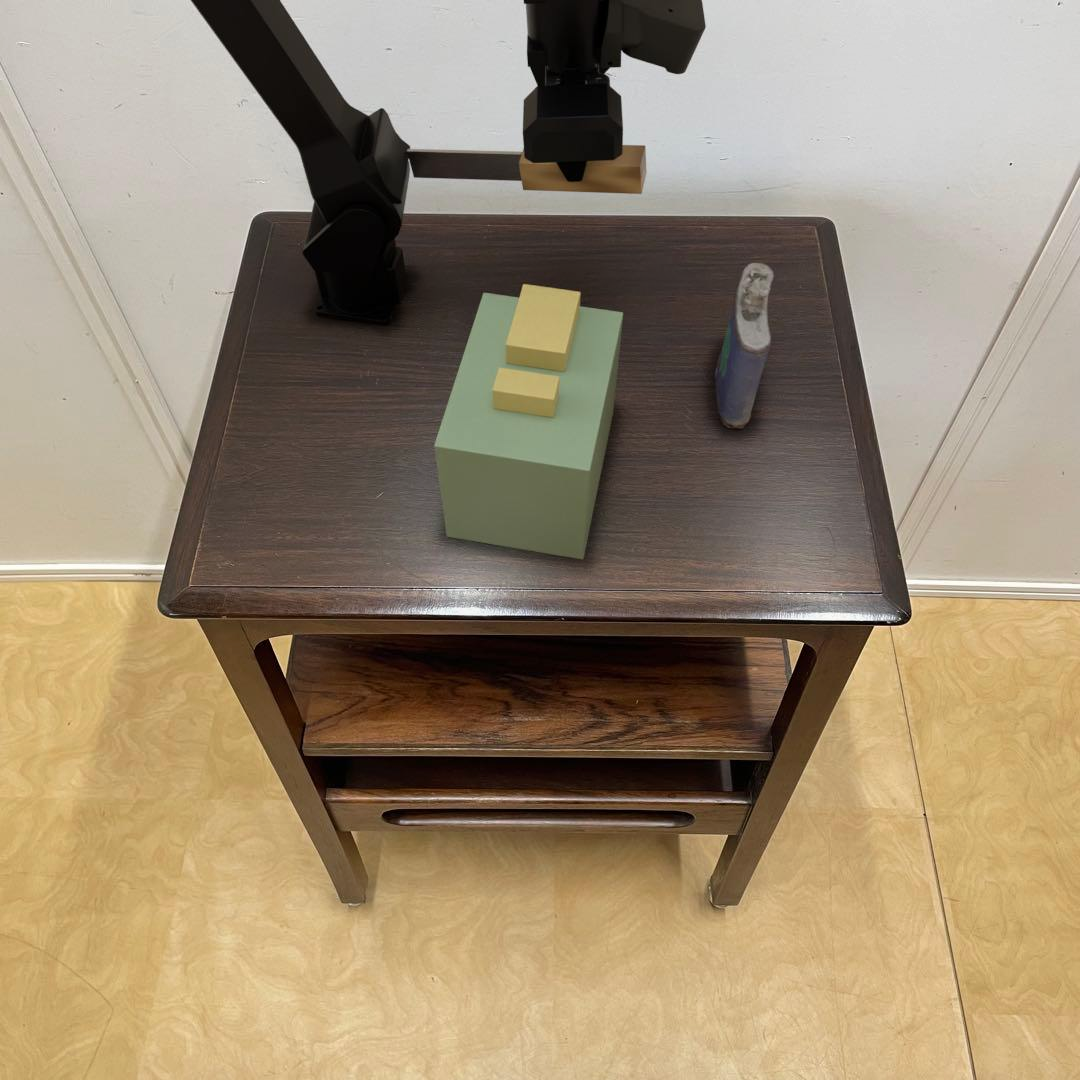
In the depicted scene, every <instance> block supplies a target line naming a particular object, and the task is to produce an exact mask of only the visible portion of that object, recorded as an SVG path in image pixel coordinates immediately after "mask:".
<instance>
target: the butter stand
mask: <svg viewBox="0 0 1080 1080" xmlns="http://www.w3.org/2000/svg"><path fill="white" fill-rule="evenodd" d="M518 300H519V297H517V296H511V295H504V294H498V293H497V294H496V293H489V292H483V293H482V295H481V299H480V302H479V305H478V308H477V311H476V315H475V318H474V321H473V324H472V327H471V330H470V333H469V336H468V340H467V343H466V345H465V349H464V352H463V355H462V358H461V361H460V364H459V367H458V371H457V374H456V377H455V380H454V383H453V385H452V389H451V392H450V395H449V398H448V402H447V404H446V408H445V411H444V414H443V417H442V420H441V423H440V426H439V430H438V432H437V436H436V439H435V442H434V445H433V447H434V448H433V449H434V454H435V455H434V456H435V462H436V469H437V470H436V471H437V477H438V484H439V490H440V491H439V492H440V498H441V505H442V512H443V519H444V527H445V534H446V537H448V538H451V539H459V540H465V541H469V542H476V543H481V544H482V543H483V544H489V545H494V546H500V547H506V548H511V549H518V550H523V551H530V552H535V553H541V554H547V555H554V556H560V557H565V558H571V559H577V560H584V559H585V553H586V548H587V543H588V538H589V535H590V529H591V524H592V518H593V514H594V509H595V504H596V499H597V494H598V490H599V485H600V479H601V476H602V475H601V474H602V470H603V465H604V460H605V455H606V450H607V445H608V441H609V436H610V431H611V426H612V420H613V416H614V409H615V400H616V391H617V381H618V380H617V379H618V371H619V370H618V369H619V362H620V361H619V360H620V353H621V352H620V349H621V342H622V341H621V340H622V331H623V320H624V312H623V311H615V310H609V309H601V308H596V307H595V308H594V307H587V306H581V305H580V312H579V316H578V320H577V324H576V328H575V332H574V336H573V340H572V345H571V349H570V353H569V357H568V361H567V365H566V369H565V372H562V371H555V370H548V369H542V368H535V367H528V366H522V365H515V364H508V363H506V341H507V338H508V334H509V331H510V328H511V324H512V321H513V317H514V314H515V311H516V307H517V304H518ZM498 368H506V369H512V370H519V371H526V372H532V373H539V374H546V375H552V376H559V377H560V384H559V398H558V402H557V406H556V410H555V414H554V417H553V418H552V417H545V416H539V415H532V414H526V413H520V412H513V411H507V410H500V409H494V408H493V397H492V389H493V385H494V382H495V379H496V375H497V372H498Z"/></svg>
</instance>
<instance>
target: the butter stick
mask: <svg viewBox="0 0 1080 1080" xmlns="http://www.w3.org/2000/svg"><path fill="white" fill-rule="evenodd" d="M520 290H521V291H520V293H519V297H518V298H519V300H518V304H517V307H516V311H515V314H514V317H513V321H512V324H511V328H510V331H509V334H508V338H507V341H506V363H508V364H515V365H522V366H528V367H535V368H542V369H548V370H555V371H562V372H565V369H566V365H567V361H568V357H569V353H570V349H571V345H572V340H573V336H574V332H575V328H576V324H577V320H578V316H579V312H580V306H581V295H582V293H581V291H577V290H570V289H562V288H556V287H549V286H548V287H547V286H541V285H535V284H528V283H523V284H522V287H521V289H520Z"/></svg>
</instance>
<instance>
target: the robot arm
mask: <svg viewBox="0 0 1080 1080" xmlns="http://www.w3.org/2000/svg"><path fill="white" fill-rule="evenodd" d="M190 2H191V3H192V5H193V6H194V7H195V8H196V10H197V11H198V13H199V14H200V16H201V17H202V18H203V20H204V21H205V22H206V24H207V25H208V26H209V28H210V29H211V32H213V34H214V35H215V36H216V37H217V39H218V41H219V42H220V43H221V45H222V46H223V47H224V48H225V50H226V51H227V53H228V54H229V55H230V57H231V58H232V60H233V61H234V63H235V64H236V65H237V67H238V68H239V70H240V71H241V72H242V74H243V75H244V76H245V78H246V79H247V80H248V82H249V83H250V85H251V86H252V87H253V89H254V90H255V91H256V93H257V94H258V96H259V97H260V98H261V99H262V101H263V102H264V104H265V105H266V107H267V108H268V109H269V111H270V112H271V113H272V115H273V116H274V118H275V119H276V120H277V121H278V123H279V125H280V126H281V127H282V129H283V130H284V131H285V133H286V135H288V137H289V138H290V140H291V141H292V143H293V144H294V145H295V147H296V149H297V151H298V153H299V155H300V159H301V162H302V166H303V170H304V175H305V177H306V181H307V185H308V187H309V191H310V195H311V197H312V200H313V206H312V210H311V213H310V218H309V223H308V225H307V226H308V227H307V231H306V235H305V240H304V244H303V248H302V253H301V254H302V256H303V258H304V259H305V260H306V261H307V263H308V264H309V265H310V268H312V270H313V271H314V274H315V279H316V282H317V286H318V291H319V296H318V299H317V301H316V303H315V305H314V312H315V315H317V316H321V317H326V318H333V319H341V320H346V321H355V322H360V323H367V324H368V323H369V324H375V325H381V326H386V325H389V324H390V323H391V320H392V319H393V316H394V314H395V313H394V312H395V311H396V307H397V306H399V305H400V304H401V301H402V299H403V298H404V295H405V291H406V289H407V286H408V276H409V274H408V269H407V268H406V265H405V264H406V263H405V257H404V251H403V248H402V247H401V246H399V245H397V242H396V238H397V237H398V235H399V234H400V231H401V229H402V225H403V218H404V214H405V213H404V212H405V207H406V206H405V205H406V200H407V193H408V187H409V180H410V175H411V173H410V172H411V165H410V161H409V155H408V154H407V149H411V145H410V144H408V143H407V142H406V141H405V140H403V139H402V138H401V136H400V135H399V134H398V132H396V129H395V127H394V126H393V123H392V121H391V117H390V115H389V114H388V112H387V111H386V109H384V108H383V107H380V108H379V109H377V110H376V111H374V112H372V113H371V114H370V115H368V114H366V113H364V112H363V111H361V110H359V109H357V108H356V107H353V106H352V105H351V104H349V102H347V100H346V99H345V98H344V96H343V95H342V93H341V92H340V89H338V87H337V86H336V84H335V82H334V81H333V79H332V78H331V76H330V75H329V73H328V71H327V70H326V68H325V67H324V65H323V64H322V63H321V61H320V60H319V57H318V56H317V54H316V53H315V52H314V50H313V49H312V47H311V46H310V44H309V43H308V41H307V39H306V38H305V36H304V35H303V33H302V32H301V30H300V29H299V27H298V25H297V24H296V23H295V21H294V20H293V18H292V16H291V15H290V13H289V11H287V9H286V7H285V5H284V4H283V3H282V1H281V0H190ZM523 5H525V12H526V13H525V14H526V28H527V29H526V30H527V35H526V59H527V60H526V61H527V67H528V68H529V69H530V71H531V74H532V76H533V78H534V81H535V83H536V85H537V86H535V88H533V90H532V91H531V92H529V94H528V95H527V96H526V97H525V98H524V99H523V105H522V107H523V108H522V109H523V110H522V111H523V113H522V141H523V143H522V144H523V149H524V157H525V158H526V159H527V160H529V161H531V162H532V163H551V162H556V163H557V165H558V167H559V168H560V170H561V172H562V173H563V175H564V177H565V178H566V180H567V181H568V182H580V181H582V179H583V175H584V172H585V168H586V164H587V161H606V160H615V159H616V158H618V157H619V156H621V155H622V152H623V145H624V121H623V120H624V119H623V104H622V95H621V94H620V93H618V91H616V90H615V89H614V88H613V87H611V79H610V77H609V76H608V75H607V74H606V73H607V72H608V70H609V69H611V68H613V69H614V68H622V53H623V54H624V55H625V56H627V57H629V58H632V59H635V60H638V61H641V62H644V63H648V64H650V65H654V66H657V67H661V68H664V69H665V71H666V72H667V73H670V74H672V75H682V74H684V73H686V71H687V69H688V67H689V64H690V63H691V60H692V58H693V56H694V54H695V52H696V50H697V47H698V46H699V43H700V41H701V38H702V36H703V34H704V33H705V30H706V27H707V26H706V19H705V11H704V4H703V0H523Z"/></svg>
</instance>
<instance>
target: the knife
mask: <svg viewBox="0 0 1080 1080" xmlns="http://www.w3.org/2000/svg"><path fill="white" fill-rule="evenodd" d="M407 154H408V155H409V159H408V161H409V165H410V170H411V171H412V175H413V178H414V179H415V178H416V179H444V180H445V179H447V180H479V181H508V182H509V181H510V182H512V181H513V182H521V186H522V190H523V191H537V192H539V191H540V192H567V193H568V192H570V193H599V194H600V193H601V194H604V193H605V194H625V195H626V194H627V195H629V194H630V195H642V194H643V189H644V185H645V182H646V177H647V151H646V145H642V144H641V145H640V144H638V145H637V144H632V145H631V144H623V152H622V155H621V156H619V157H618V158H616V159H615V160H606V161H587V164H586V168H585V172H584V175H583V179H582V181H580V182H568V181H567V180H566V178H565V177H564V175H563V173H562V172H561V170H560V168H559V167H558V165H557V163H556V162H551V163H532V162H531V161H529V160H527V159H526V158H525V157H524V148H523V149H522V151H511V150H509V151H508V150H506V151H505V150H474V149H473V150H471V149H469V150H467V149H431V148H430V149H429V148H428V149H426V148H410V149H407Z"/></svg>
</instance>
